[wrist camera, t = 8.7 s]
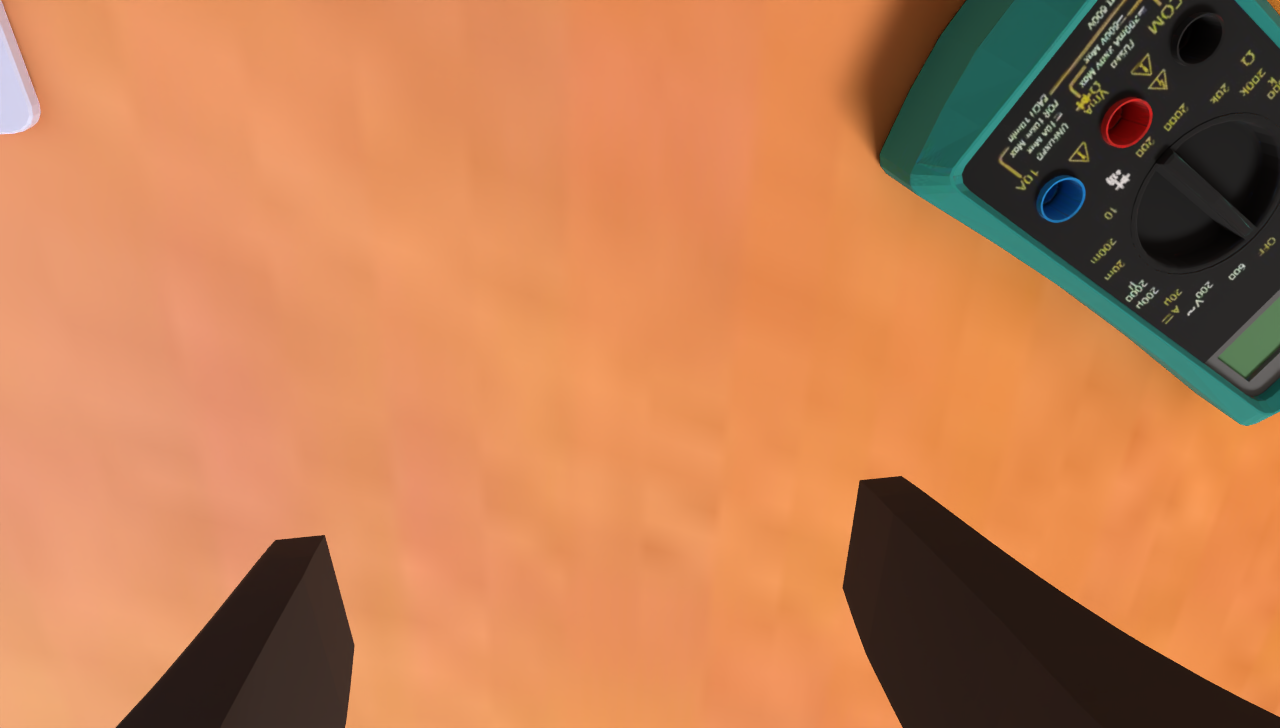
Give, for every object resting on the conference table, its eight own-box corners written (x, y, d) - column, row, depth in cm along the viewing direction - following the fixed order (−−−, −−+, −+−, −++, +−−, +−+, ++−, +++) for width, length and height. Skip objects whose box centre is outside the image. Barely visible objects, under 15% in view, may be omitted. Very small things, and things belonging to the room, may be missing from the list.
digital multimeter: (1065, -156, 17) (1164, -165, 14) (1398, 195, 23) (1511, 232, 20) (845, 144, 19) (896, 181, 17) (1193, 392, 25) (1271, 447, 23)
